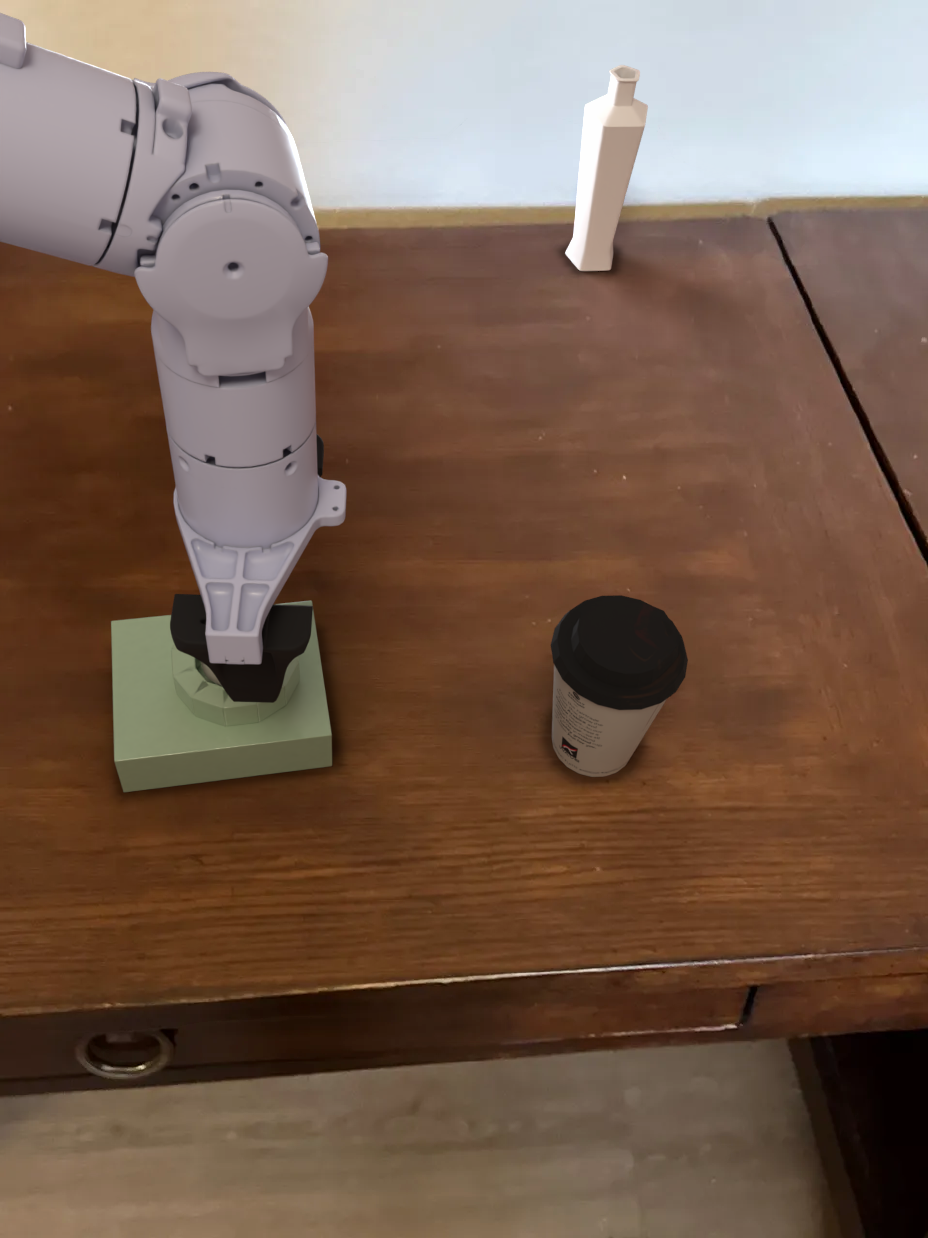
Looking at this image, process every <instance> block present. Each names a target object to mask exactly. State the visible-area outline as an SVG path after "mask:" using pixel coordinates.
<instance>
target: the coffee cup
mask: <svg viewBox="0 0 928 1238" xmlns="http://www.w3.org/2000/svg"><path fill="white" fill-rule="evenodd" d="M550 650H551V656H552V663H553V686H552V688H553V689H552V691H553V692H552V715H551V716H552V717H551V742H552V748H553V751H554V752H555V754H556V756H557V758H558V759H559V760H560V761H561V762H562V763H563V764H564V765H565V767H566V768H567V769H570V770H571V771H573V772H575V773H577V774H578V775H583V776H587V777H589V778H590V777H591V778H600V777H603V778H604V777H609V776H610V775H613V774H617V773H618V772H619V771H621V770H622V769H623V768H625V767H626V765H627V764H628V762H629V761H630V759H631V758H632V756H633V754H634V752H636V749H638V747H639V744H640V743H641V742H642V740H643V738H644V737H645V735H646V733H647V732H648V730H649V729H650V727H651V725H652V724H653V722H654V720H655V719H656V717H657V715H658V714H659V713H660V711H661V710H662V708H663V706H664V704H665V703H666V701H667V699H669V698H670V697H671V696H673V695H674V694H675V693H677V692H678V689H679V688H680V686H682V685H681V684H682V683H683V681H684V680H685V678H686V677H687V676H686V675H687V669H688V662H689V659H688V654H687V650H686V645H685V641H684V638H683V636H682V634H681V633H680V631H679V629H678V627H677V626H676V625H675V623H674V621H673V620H672V619H670V617H669V616H668V615H667V613H666V612H665V610H663V609H661V608H659V607H656V606H654V605H652V604H649V602H648V603H647V602H646V601H644V600H641V599H639V598H634V597H630V596H626V595H621V594H619V595H617V594H615V595H614V594H613V595H599V596H596V597H592V598H590V599H585V600H583V601H582V602H580V603H579V604H577V605H576V606H574V607H573V608H571V609H570V610H568V611H567V612H566V613H565V614H564V615H563V616H562V618H561V619H560V620H559V622H558V623H557V624H556V626H555V627H554V630H553V633H552V637H551V642H550Z"/></svg>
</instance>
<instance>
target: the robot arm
mask: <svg viewBox="0 0 928 1238" xmlns="http://www.w3.org/2000/svg"><path fill="white" fill-rule="evenodd" d="M26 37H27V36H26V24H25V23H24V22H23V21H22V20H21V19H19V18H16V17H13V16H10V15H8V14H5V13H2V12H0V242H1V243H4V244H8V245H12V246H16V247H19V248H23V249H27V250H31V251H34V252H38V253H41V254H45V255H47V256H48V255H49V256H52V257H55V258H59V259H63V260H67V261H71V262H74V263H79V264H82V265H85V266H89V267H94V268H96V269H100V270H104V271H107V272H112V273H115V274H119V275H122V276H123V275H124V276H127V277H128V276H129V277H133V278H135V281H136V284H137V286H138V288H139V291H140V293H141V295H142V296H143V299H144V300H145V301H146V303H147V304H148V305H149V306H150V308H151V309H152V310H153V311H152V315H151V323H150V324H151V325H150V331H151V332H150V333H151V334H150V335H151V339H152V346H153V352H154V359H155V366H156V371H157V377H158V378H157V379H158V383H159V389H160V396H161V402H162V407H163V408H162V409H163V413H164V414H163V415H164V419H165V421H164V422H165V426H166V433H167V439H168V440H167V441H168V447H169V452H170V453H169V454H170V458H171V466H172V471H173V472H172V473H173V478H174V482H175V483H174V484H175V487H174V490H173V509H174V514H175V520H176V524H177V526H178V529H179V532H180V536H181V538H182V542H183V544H184V548H185V550H186V551H185V552H186V554H187V557H188V560H189V563H190V567H191V570H192V572H193V576H194V578H195V582H196V585H197V587H198V591H199V593H200V594H194V593H193V594H192V593H175V594H174V595H173V602H172V608H171V614H170V615H171V620H170V630H171V635H172V639H173V642H174V644H175V646H176V648H177V650H179V651H180V652H183V653H185V654H188V655H190V656H192V657H194V658H196V659H198V660H199V661H201V662H202V663H204V664H205V665H206V666H208V667H209V668H210V670H211V671H212V672H213V673H214V675H215V676H216V678H217V679H218V681H219V682H220V684H221V685H222V687H223V688H224V690H225V691H226V693H227V694H228V696H229V697H230V698H231V700H232V701H234V702H264V703H274V702H275V701H276V700H277V698H278V696H279V694H280V691H281V689H282V685H283V681H284V676H285V673H286V670H287V667H288V665H289V664H290V663H291V661H292V660H293V659H294V658H296V657H297V656H299V655H301V654H303V653H304V652H305V650H306V647H307V645H308V643H309V640H310V636H311V628H312V614H313V611H314V605H313V606H308V605H276V604H277V603H275V602H276V600H277V598H278V596H279V595H280V593H281V592H282V589H283V588H284V586H285V584H286V582H287V581H288V579H289V578H290V576H291V573H292V572H293V570H294V569H295V567H296V565H297V563H298V562H299V560H300V558H301V557H302V555H303V553H304V551H305V549H306V548H307V546H308V544H309V543H310V542H311V541H310V540H311V539H312V537H313V535H314V534H315V532H316V531H317V530H319V528H322V527H337V526H341V525H342V524H343V523H344V522H345V520H346V513H347V487H346V484H345V483H343V482H342V481H340V480H335V479H324V478H322V476H323V472H324V471H323V469H324V456H325V443H324V440H323V438H322V437H321V436H320V435H319V434H318V433H317V407H316V406H317V404H316V402H317V401H316V399H317V398H316V371H315V370H316V369H315V331H314V330H315V329H314V328H315V327H314V326H315V325H314V319H313V315H312V311H311V309H310V305H311V304H312V303H313V302H314V300H315V299H316V298H317V296H318V294H319V292H320V291H321V289H322V287H323V284H324V282H325V279H326V276H327V270H328V265H329V256H328V255H327V254H326V253H325V252H321V238H320V237H321V236H320V231H319V226H318V224H317V220H316V216H315V212H314V209H313V204H312V201H311V197H310V194H309V190H308V186H307V181H306V179H305V175H304V171H303V167H302V164H301V159H300V155H299V152H298V147H297V144H296V142H295V140H294V139H295V138H294V137H293V135H292V133H291V131H290V130H289V126H288V125H287V122H286V121H285V119H284V118H283V116H282V114H281V113H280V112H279V110H278V109H277V108H276V106H275V105H274V104H273V103H272V102H270V101H269V100H268V99H267V98H266V97H264V96H263V94H261V93H259V92H258V91H256V90H254V89H253V88H251V87H248V86H246V85H244V84H242V83H241V82H239V80H237V79H236V78H235V77H234V76H232V75H231V74H229V73H227V72H219V71H198V72H197V71H196V72H191V73H190V72H189V73H186V74H182V75H178V76H176V77H175V76H174V77H173V78H170V79H168V80H167V79H164V78H161V77H158V78H157V79H156V81H155V82H150V81H146V80H142V79H139V78H136V77H134V78H133V79H131V78H130V77H127V76H124V75H121V74H118V73H116V72H113V71H110V70H107V69H104V68H102V67H98V66H96V65H93V64H90V63H87V62H86V61H85V62H84V61H81V60H79V59H76V58H73V57H71V56H67V55H64V54H63V53H59V52H56V51H53V50H50V49H47V48H44V47H42V46H39V45H36V44H34V43H31V42H29V41H27V40H26Z"/></svg>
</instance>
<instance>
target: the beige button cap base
mask: <svg viewBox="0 0 928 1238" xmlns="http://www.w3.org/2000/svg"><path fill="white" fill-rule="evenodd" d="M275 604H276V605H308V606H313V607H314V605H313V601H312V600H304V601H294V602H285V603H275ZM170 620H171V614H166V615H158V616H148V617H138V618H126V619H117V620H111V621H110V636H111V638H110V641H111V680H112V682H111V684H112V685H111V687H112V721H113V722H112V725H113V727H112V728H113V729H112V730H113V762H114V765H115V769H116V772H117V775H118V778H119V782H120V786H121V789H122V792H123V793H129V792H138V791H139V792H140V791H145V790H155V789H163V788H169V787H177V786H179V787H180V786H187V785H195V784H201V783H209V782H217V781H218V782H219V781H225V780H234V779H241V778H250V777H258V776H266V775H272V774H273V775H274V774H280V773H281V774H282V773H288V772H297V771H305V770H314V769H320V768H321V769H322V768H329V767H332V766H333V734H332V726H331V719H330V712H329V707H328V699H327V693H326V687H325V679H324V673H323V666H322V659H321V653H320V646H319V645H320V644H319V639H318V632H317V625H316V618H315V612H314V610H313V614H312V628H311V636H310V640H309V643H308V645H307V647H306V650H305V652H304V653H303V654H301V655H299V656H297V657H296V658H294V659H293V660H292V661H291V663H290V664H289V665H288V667H287V670H286V673H285V676H284V681H283V685H282V689H281V691H280V694H279V696H278V698H277V700H276V701H275V702H274V703H264V702H234V701H232V700H231V698H230V697H229V696H228V694H227V693H226V691H225V690H224V688H223V687H222V686H221V685H218V684H216V683H214V682H213V681H211V680H210V679H209V678H208V677H207V676H206V675H205V674H204V672H203V670H202V667H201V662H200V661H199V660H198V659H196V658H194V657H192V656H190V655H188V654H185V653H183V652H180V651H179V650H177V648H176V646H175V644H174V642H173V639H172V635H171V630H170Z"/></svg>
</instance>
